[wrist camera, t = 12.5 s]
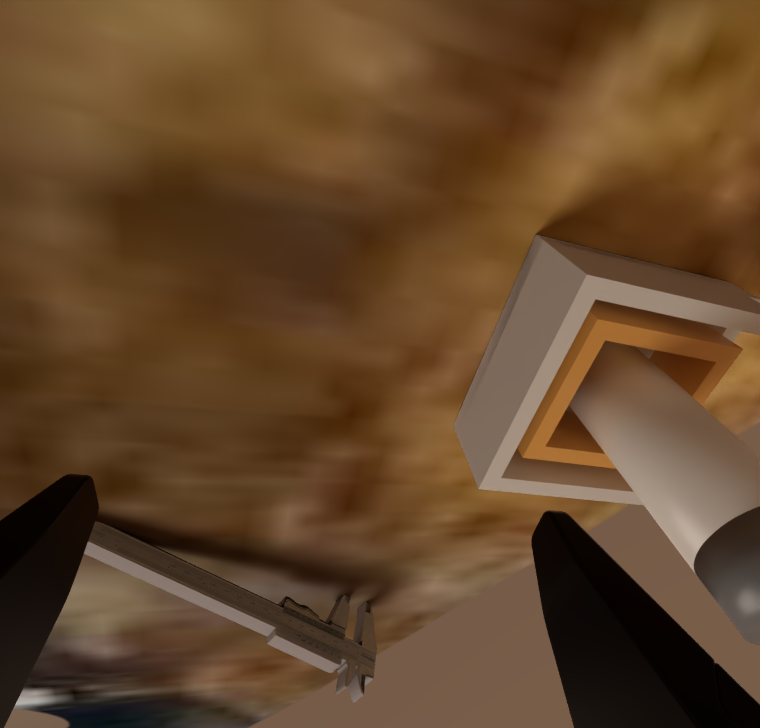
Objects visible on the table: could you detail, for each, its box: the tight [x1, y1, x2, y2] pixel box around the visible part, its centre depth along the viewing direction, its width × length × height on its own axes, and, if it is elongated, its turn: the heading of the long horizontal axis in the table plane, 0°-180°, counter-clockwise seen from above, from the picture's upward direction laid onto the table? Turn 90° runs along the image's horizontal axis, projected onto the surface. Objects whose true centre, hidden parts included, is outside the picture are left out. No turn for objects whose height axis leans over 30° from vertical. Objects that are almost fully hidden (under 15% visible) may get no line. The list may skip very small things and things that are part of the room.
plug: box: [569, 340, 760, 645], centre depth 19 cm, size 4×4×12 cm
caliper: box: [84, 521, 377, 703], centre depth 28 cm, size 20×1×6 cm, turn 54°
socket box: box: [453, 234, 760, 505], centre depth 23 cm, size 11×11×4 cm
